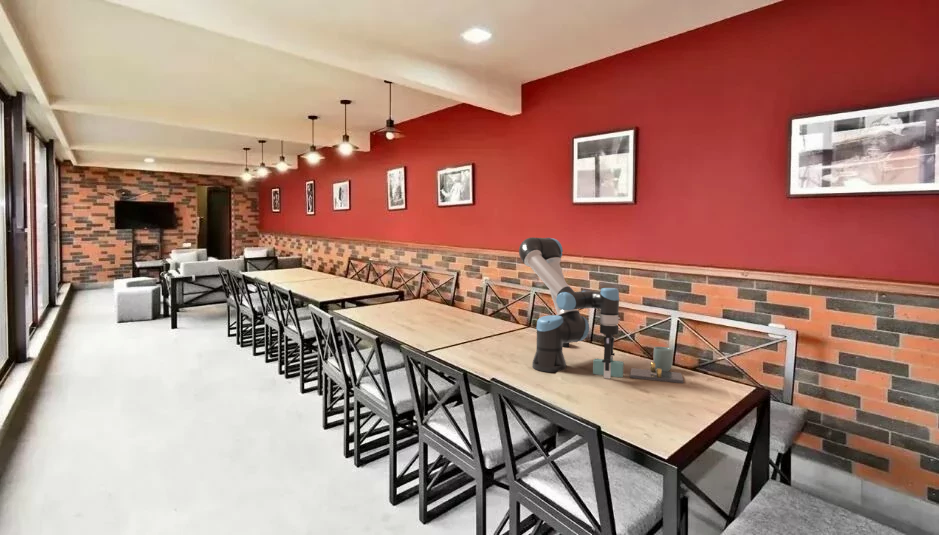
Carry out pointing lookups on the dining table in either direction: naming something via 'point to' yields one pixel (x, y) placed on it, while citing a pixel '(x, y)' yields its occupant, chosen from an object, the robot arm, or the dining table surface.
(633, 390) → the dining table surface
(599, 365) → the teal rectangular block
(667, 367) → the cup
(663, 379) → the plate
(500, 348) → the dining table surface
